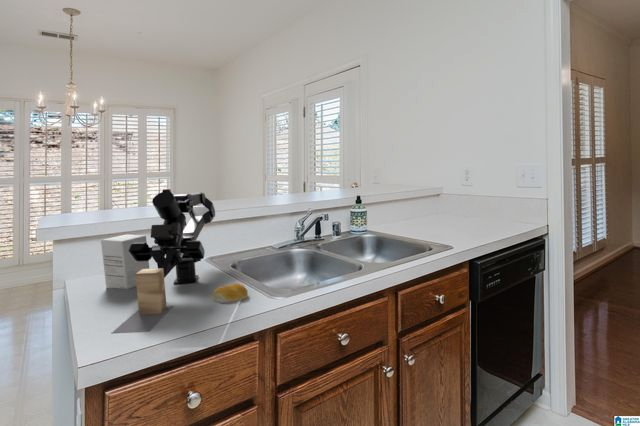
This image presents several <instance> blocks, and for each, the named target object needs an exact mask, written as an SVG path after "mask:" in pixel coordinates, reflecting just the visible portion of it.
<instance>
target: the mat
mask: <svg viewBox="0 0 640 426" xmlns="http://www.w3.org/2000/svg"><path fill="white" fill-rule="evenodd" d="M166 306H167V307H166V308H165V309H164V310H163V311H162V312H161V313H156V314H139V309H137V310H136V311H135V312H134V313H133V314H132V315H131V316H129V317H128V318H127V319H126V320H125V321H124V322H122V323H121V324H120V325H119V326H117V328H115V329H114V330H113V331H112V332H111V334H127V333H128V334H129V333H131V334H132V333H149V332H150V331H152V329H154V327H156V325H157V324H158V323H159V322H160V321H161V320H162V319H163V318H164V317H165V316H166V315H167V313H168V312H169V311H171V309H173V307H174V305H166Z"/></svg>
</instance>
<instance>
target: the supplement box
mask: <svg viewBox="0 0 640 426" xmlns="http://www.w3.org/2000/svg"><path fill="white" fill-rule="evenodd" d="M143 242H146V243H147V242H148V241H147V235H142V234H130V233H129V234H128V233H127V234H123V235H117V236H112V237H108V238H104V239H101V240H100V245H101V252H102V253H101V254H102V263H103V271H104V278H105V287H106V289H122V290H130V289H132V288H137V285H136V273H137V272H139V271H140V270H142V269H150V262H149V261H150V260H149V261H136V260H135V259H134V258H133V256H132V255H131V254H130V252H129V247H130V245H131V244H132V243H143ZM147 244H148V243H147Z"/></svg>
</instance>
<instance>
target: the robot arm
mask: <svg viewBox="0 0 640 426" xmlns="http://www.w3.org/2000/svg"><path fill="white" fill-rule="evenodd" d="M151 202H152V205H153V207H154V208H155V210H156V212H157V214H158V216H159V217H160V219H162V220H163V224H152V225H151V229H150V238H151V239H152V238H153V239H154V241H153V242H154V244H155V245H151V247H150V246H149V244H148V243H146V242H143V243H132V244H131V245H130V247H129V252H130V254H131V255H132V256H133V258H134V259H135V260H136V261H150V260H151V259H153V260H154V262H155V263H156V267H157V268H163V270H164V279H165V278H167V276H168V275H169V274H170V273H171V271H172V270H173V269H175V276H176V278H175V280H174V281H173V285H175V284H176V285H177V284H188V283H189V284H190V283H196V282H197V281H198V279H199V275H198V274H197V273H196V263H198V262H201V261H202V260H203V259H204V258H205V252H206V251H205V249H204V246H203V244H202V242H201V240H197V239H198V237H199V235H200V233H201V232H202V230H203V228H204V226H205V225H206V224H209V223H211V222H212V221H213V220H214V218H215V217H216V209H215V206H214V203H213V202H212V200H210V199H209V198H207V197H206V195H205V193H204V192H191V193H182V194H181V193H179V194H177V193H176V194H173V192H172V191H171V189H170V188H169V189H167V188H166V189H164V188H163V189H162V192H159V193H157V194H156V195H155V196H153V198H152V201H151ZM186 213H188V214H189V217H190V220H189V221H188V223H187V221H186V220H187V218H186V217H187V216H186V215H185V214H186Z"/></svg>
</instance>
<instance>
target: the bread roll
mask: <svg viewBox="0 0 640 426" xmlns="http://www.w3.org/2000/svg"><path fill="white" fill-rule="evenodd" d="M247 297H248V289H247V288H246V287H245V286H244V285H243V284H241V283H233V284H228V285H224V286H220V287H217V288H216V289H215V290H214V291H213V292H212V297H211V298H212V300H213V301H214V302H217V303H221V304H226V303H234V302H236V301H238V302H239V301H243V300H245V299H247Z"/></svg>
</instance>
